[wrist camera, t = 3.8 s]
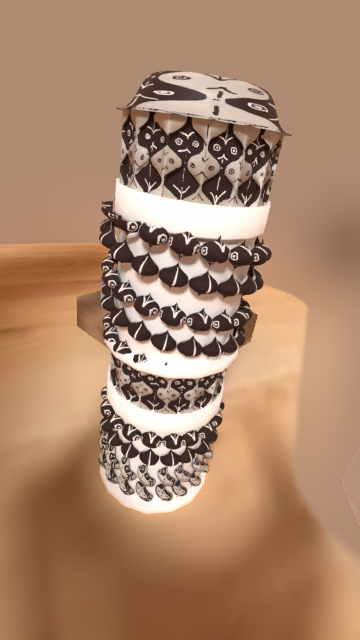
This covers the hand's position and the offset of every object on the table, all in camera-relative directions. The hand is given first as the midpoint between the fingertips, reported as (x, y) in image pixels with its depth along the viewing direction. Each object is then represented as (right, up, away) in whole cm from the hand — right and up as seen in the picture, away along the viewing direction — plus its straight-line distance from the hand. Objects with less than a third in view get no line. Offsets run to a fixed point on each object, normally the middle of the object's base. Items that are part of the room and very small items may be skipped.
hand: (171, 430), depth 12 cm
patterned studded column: (-2, -8, +15) cm, 17 cm away
